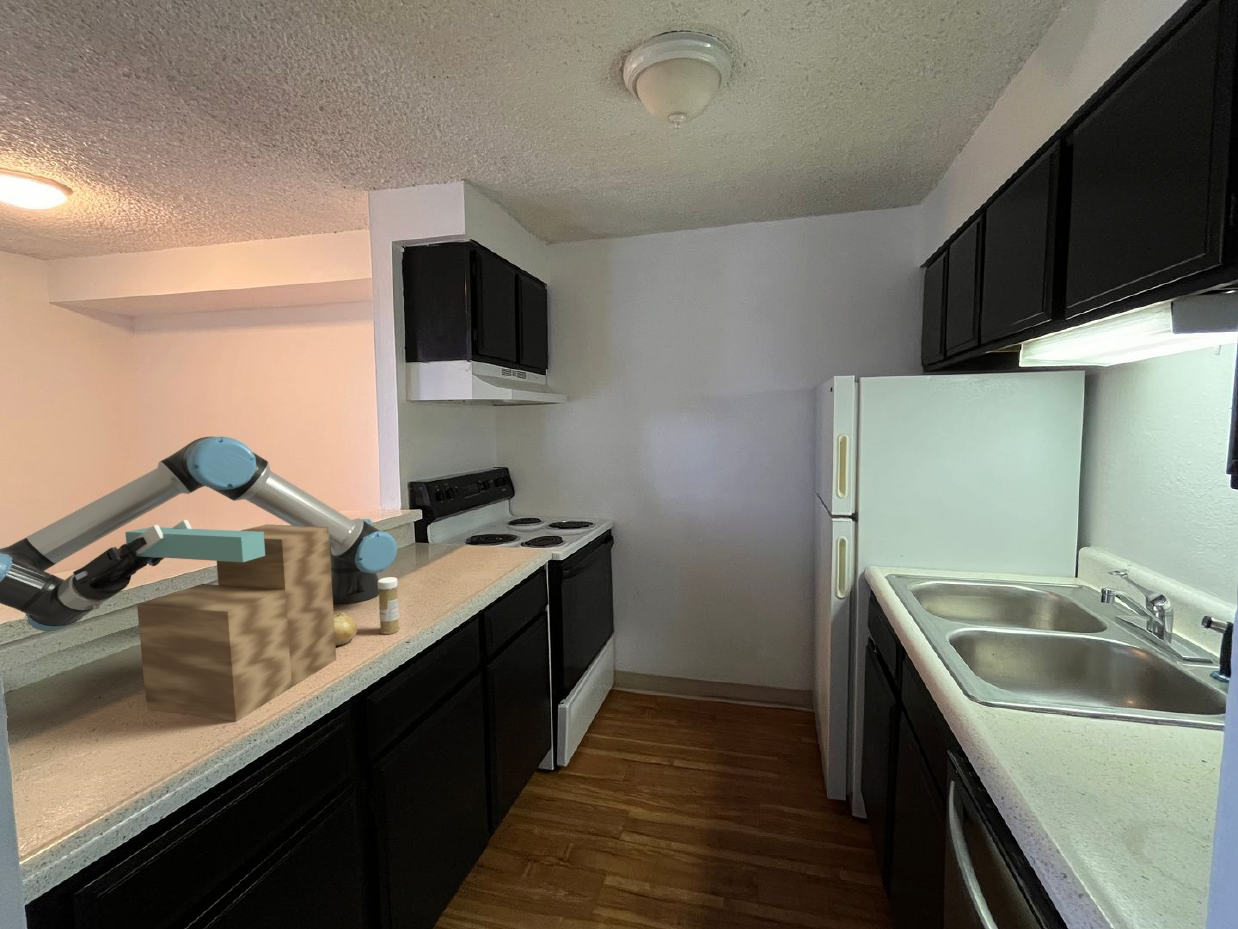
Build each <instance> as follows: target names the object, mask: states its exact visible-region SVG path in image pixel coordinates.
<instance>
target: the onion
mask: <svg viewBox="0 0 1238 929" xmlns="http://www.w3.org/2000/svg"><path fill="white" fill-rule="evenodd" d="M333 613H334V614H335V615H334V630H335V646H336V647H339V646H342V645H347V644H348V643H350V641H351V640H353V639H354V638H355V636H356V635H357V632H358V626H357V623H356V622H355V620H354V618H352V617H350V616H349V615H346V614H345V613H344V612H341V611H339V612H336V611H333Z"/></svg>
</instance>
